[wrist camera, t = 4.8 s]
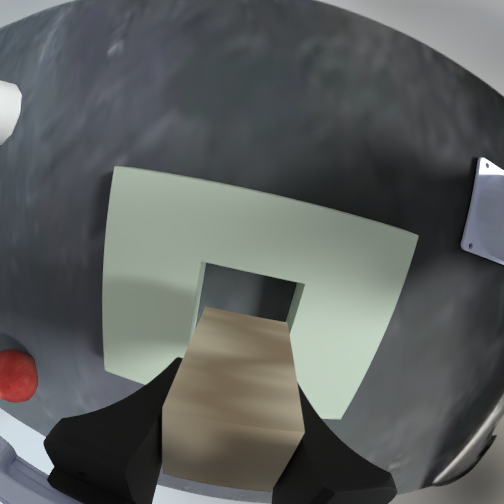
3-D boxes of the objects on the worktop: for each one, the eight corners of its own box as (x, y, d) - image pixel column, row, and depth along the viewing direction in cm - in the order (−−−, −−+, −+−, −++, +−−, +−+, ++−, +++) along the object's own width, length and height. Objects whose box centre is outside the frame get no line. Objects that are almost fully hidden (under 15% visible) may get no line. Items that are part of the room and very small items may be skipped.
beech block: (287, 322, 14) (304, 432, 7) (268, 384, 15) (270, 491, 8) (205, 306, 14) (162, 407, 7) (196, 370, 14) (163, 473, 8)
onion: (55, 385, 24) (20, 427, 17) (23, 371, 24) (-12, 406, 17) (42, 344, 23) (-2, 384, 15) (10, 331, 23) (-32, 364, 15)
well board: (402, 229, 19) (418, 235, 17) (335, 400, 23) (340, 419, 20) (130, 167, 19) (114, 166, 16) (116, 354, 22) (105, 370, 20)
